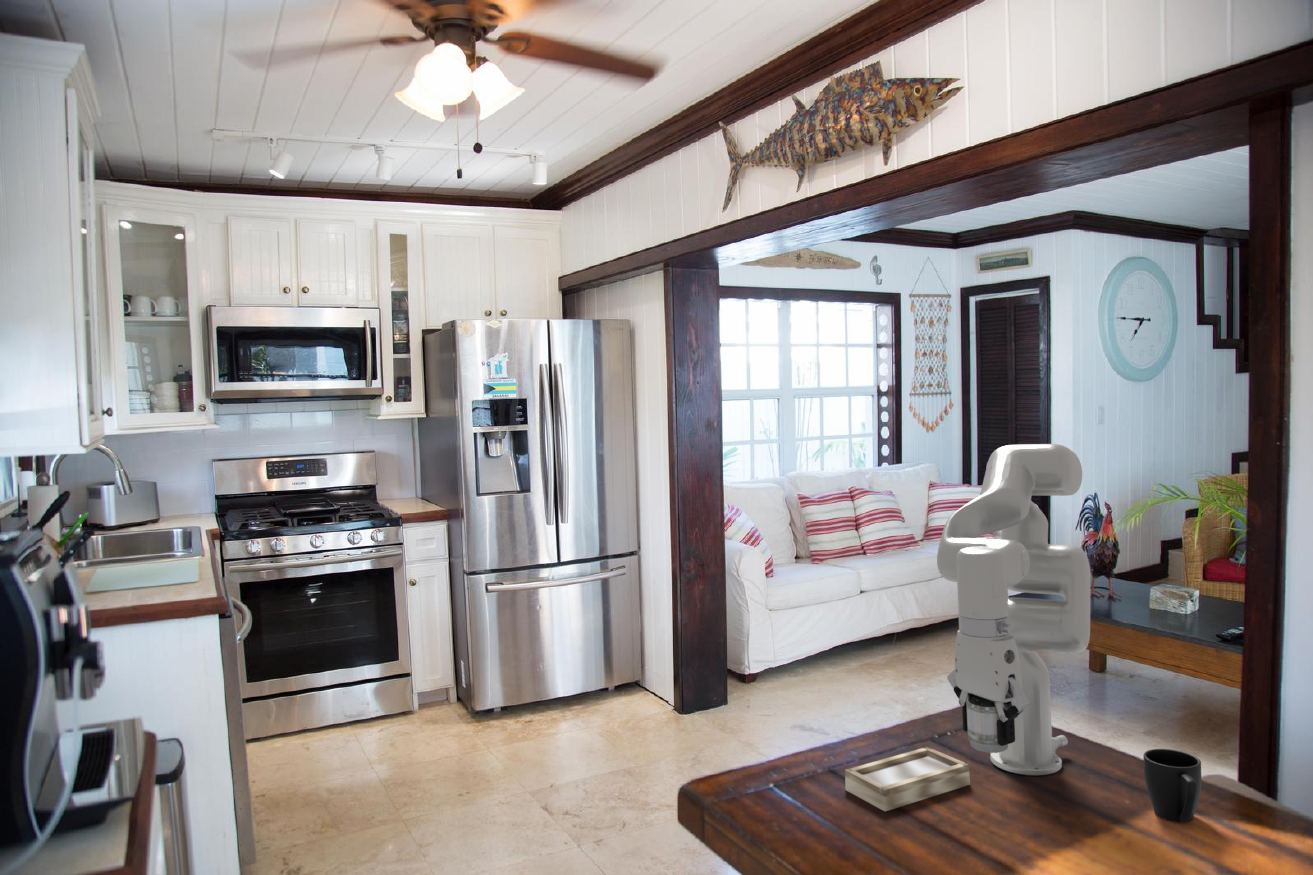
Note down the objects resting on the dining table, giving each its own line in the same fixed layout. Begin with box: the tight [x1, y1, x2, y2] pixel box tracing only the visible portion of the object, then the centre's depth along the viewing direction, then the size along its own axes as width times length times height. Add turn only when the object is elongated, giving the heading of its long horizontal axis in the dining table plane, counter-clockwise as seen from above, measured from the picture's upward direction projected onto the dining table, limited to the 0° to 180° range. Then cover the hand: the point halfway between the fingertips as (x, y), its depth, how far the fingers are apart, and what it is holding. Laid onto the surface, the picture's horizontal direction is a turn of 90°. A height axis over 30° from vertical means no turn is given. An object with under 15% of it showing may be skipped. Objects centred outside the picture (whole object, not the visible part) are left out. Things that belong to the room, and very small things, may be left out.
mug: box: [1142, 748, 1202, 824], centre depth 144 cm, size 8×12×10 cm
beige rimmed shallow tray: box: [844, 746, 971, 812], centre depth 161 cm, size 20×10×4 cm, turn 117°
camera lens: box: [966, 695, 1008, 754], centre depth 141 cm, size 6×6×8 cm
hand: (988, 735), depth 141 cm, fingers closed on camera lens, 6 cm apart
